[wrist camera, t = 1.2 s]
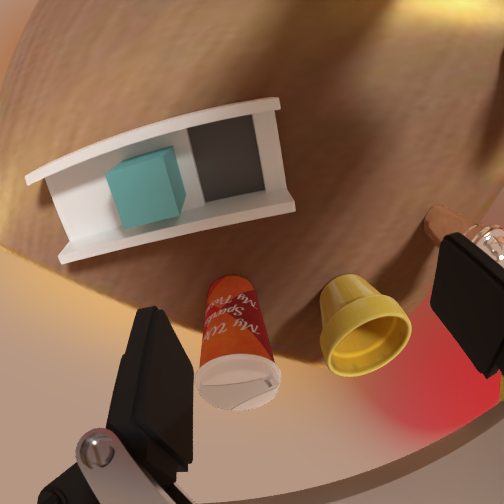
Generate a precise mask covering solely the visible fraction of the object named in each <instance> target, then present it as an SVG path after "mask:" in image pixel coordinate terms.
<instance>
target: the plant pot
mask: <svg viewBox="0 0 504 504" xmlns="http://www.w3.org/2000/svg"><path fill="white" fill-rule="evenodd" d="M320 309H321V317H322V327H323V330H322V332H321V336H320V346H321V350H322V353H323V356H324V359H325V362H326V365H327V367H328V368H329V370H330V371H332V372H333V373H335V374H337V375H340V376H345V377H352V376H359V375H363V374H366V373H370V372H372V371H374V370H376V369H379V368H381V367H382V366H384V365H385V364H387V363H388V362H390V361H391V360H392V359H393V358H395V357H396V356H397V355H398V354H399V353H400V352H401V351H402V349H403V348H404V347H405V345H406V344H407V342H408V340H409V338H410V335H411V322H410V320H409V318H408V317H407V315H406V314H405V312H404V311H403V309H402V308H401V307H400V306H399V304H398V303H397V302H396V301H395V300H394V299H393V298H391V297H389V296H386V295H382V294H381V293H379V292H378V291H377V290H376V289H375V288H374V287H372V286H371V285H370V284H369V283H368V282H366V281H365V280H364V279H363V278H361V277H360V276H357V275H354V274H346V275H342V276H339V277H337V278H335V279H333V280H332V281H330V282H329V283H328V284H327V285H326V286H325V287H324V289H323V290H322V292H321V295H320Z"/></svg>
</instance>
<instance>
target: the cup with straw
mask: <svg viewBox="0 0 504 504" xmlns="http://www.w3.org/2000/svg"><path fill="white" fill-rule="evenodd" d="M424 231H425V233H426V234H427V235H429V237H430V239H431V240H432V241H433V242H434V244H435V245H436V246H437V247H438V248H439V249H440V243H441V241H442V240H443V238H444V236H446V235H448V234H452V233H455V232H459V233H461V234H463V235H464V236H465V237H466V238H468V239H469V240H470V241H472V242H473V243H474V244H475V245H477V246H478V247H479V248H480V249H482V250H483V251H484V252H485V253H487V254H488V255H489V256H490V257H491V258H493V259H494V260H495V261H496V262H497V263H499V264H500V265H501V266H502V267H503V268H504V230H503V229H502V227H500V226H498V225H489V226H486V225H483V224H481V223H477V222H475V221H473V220H471V219H469V218H467V217H465V216H463V215H461V214H459V213H457V212H455V211H453V210H451V209H449V208H446V207H445V206H443V205H436V206H434V207H433V208H431V209H430V210H429V212H428V213H427V215H426V217H425V219H424Z"/></svg>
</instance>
